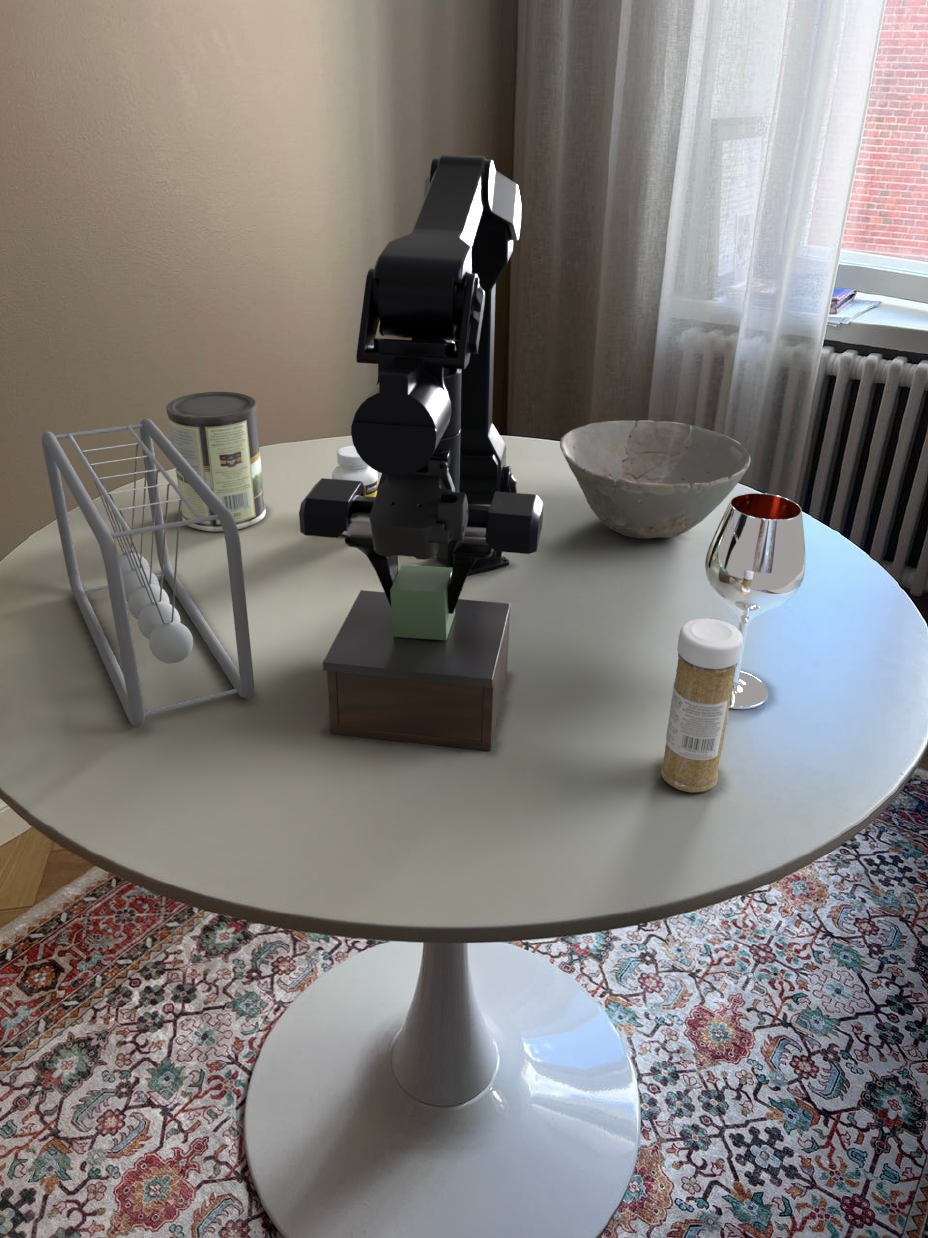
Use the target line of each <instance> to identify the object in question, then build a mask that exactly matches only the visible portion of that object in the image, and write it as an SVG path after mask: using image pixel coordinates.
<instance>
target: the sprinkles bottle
mask: <svg viewBox="0 0 928 1238" xmlns="http://www.w3.org/2000/svg"><path fill="white" fill-rule="evenodd" d="M742 644H743V637H742V634H741V632H740V631H739V630H738V628H737V626H735V625H732V624H731V623H729V622H726V621H723V620H719V619H714V618H696V619H695V618H694V619H691V620H688V621H687V622H685V623H684V624H683V625H682V626H681V627H680V630H679V634H678V641H677V647H676V648H677V649H676V650H677V657H678V658H677V665H676V671H675V672H676V674H675V680H674V682H673V687H672V694H671V701H670V709H669V715H668V722H667V728H666V735H665V747H664V754H663V755H664V756H663V760H662V761H663V762H662V764H661V766H660V774H661V778H662V779H663V780H664V781H665V782H666V783H667V784H668V785H669V786H671V787H673V788H675V789H676V790H679V791H681V792H687V793H704V792H708V791H709V790H711V789H712V788H714V787H715V786H716V785H717V784H718V780H719V772H718V771H719V766H720V761H721V757H722V751H723V748H724V743H725V739H726V734H727V728H728V721H729V711H730V708H729V706H730V700H731V694H732V688H733V682H734V674H735V668H736V666H737V665H738V661H739V660H740V657H741V651H742Z"/></svg>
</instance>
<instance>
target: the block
mask: <svg viewBox="0 0 928 1238" xmlns="http://www.w3.org/2000/svg"><path fill="white" fill-rule="evenodd" d="M452 569H453V568H451V567H448V566H430V565H429V566H428V565H411V564H410V565H409V564H401V566H400V568H399V569H398V570H399V572H398V574H397V576H396V579H395V581H394V583H393V585H392V587H391V589H390V594H391V609H392V624H393V637H402V638H417V639H433V640H447V637H448V634H449V631H450V628H451V625H452V622H453V619H454V616H455V610H454V612H453V614H449V610H448V596H449V589H450V582H451V576H452Z"/></svg>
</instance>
